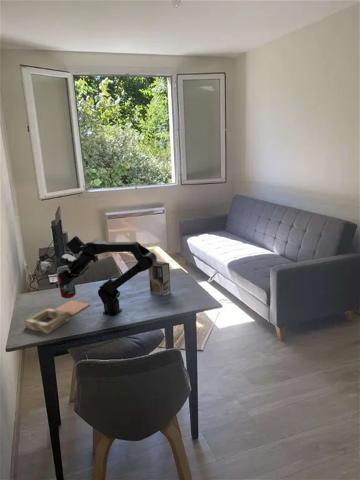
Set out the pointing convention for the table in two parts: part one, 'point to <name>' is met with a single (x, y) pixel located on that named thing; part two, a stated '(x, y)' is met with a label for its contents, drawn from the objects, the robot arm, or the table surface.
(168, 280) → the coffee box
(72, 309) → the mat
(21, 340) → the table surface
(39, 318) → the holder
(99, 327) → the table surface
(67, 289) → the beverage can
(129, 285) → the table surface
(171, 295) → the table surface
